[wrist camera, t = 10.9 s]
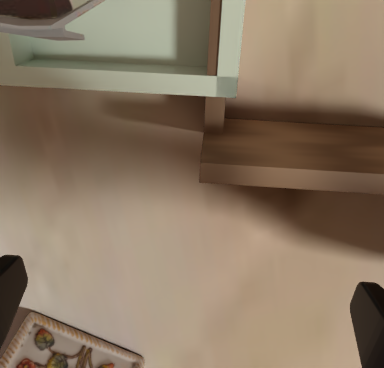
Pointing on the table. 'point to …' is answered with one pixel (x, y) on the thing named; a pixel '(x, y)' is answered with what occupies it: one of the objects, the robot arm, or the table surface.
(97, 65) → the tray
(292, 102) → the table surface
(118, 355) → the decorative jar
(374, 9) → the table surface
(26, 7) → the food container
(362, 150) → the wooden pieces
